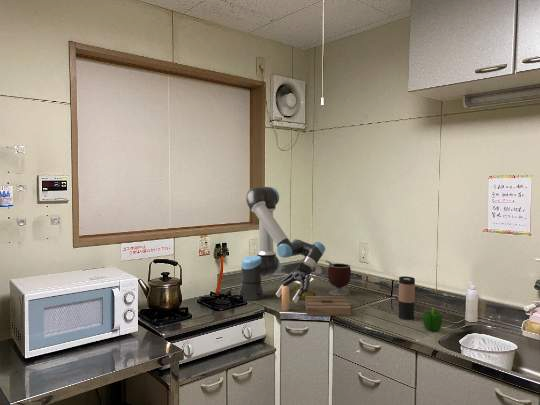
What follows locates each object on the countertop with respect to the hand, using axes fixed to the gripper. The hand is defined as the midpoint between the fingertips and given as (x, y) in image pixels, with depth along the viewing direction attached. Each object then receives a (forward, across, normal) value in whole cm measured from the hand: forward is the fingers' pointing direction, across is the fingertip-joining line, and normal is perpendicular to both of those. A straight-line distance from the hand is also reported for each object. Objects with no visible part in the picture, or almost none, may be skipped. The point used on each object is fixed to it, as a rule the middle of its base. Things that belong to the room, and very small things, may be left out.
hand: (285, 298), depth 219 cm
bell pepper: (-19, -64, -28) cm, 73 cm away
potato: (-12, +10, -20) cm, 25 cm away
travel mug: (-23, -47, -32) cm, 61 cm away
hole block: (-9, -12, -18) cm, 23 cm away
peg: (+4, +1, -5) cm, 6 cm away
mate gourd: (-30, +7, -39) cm, 49 cm away
